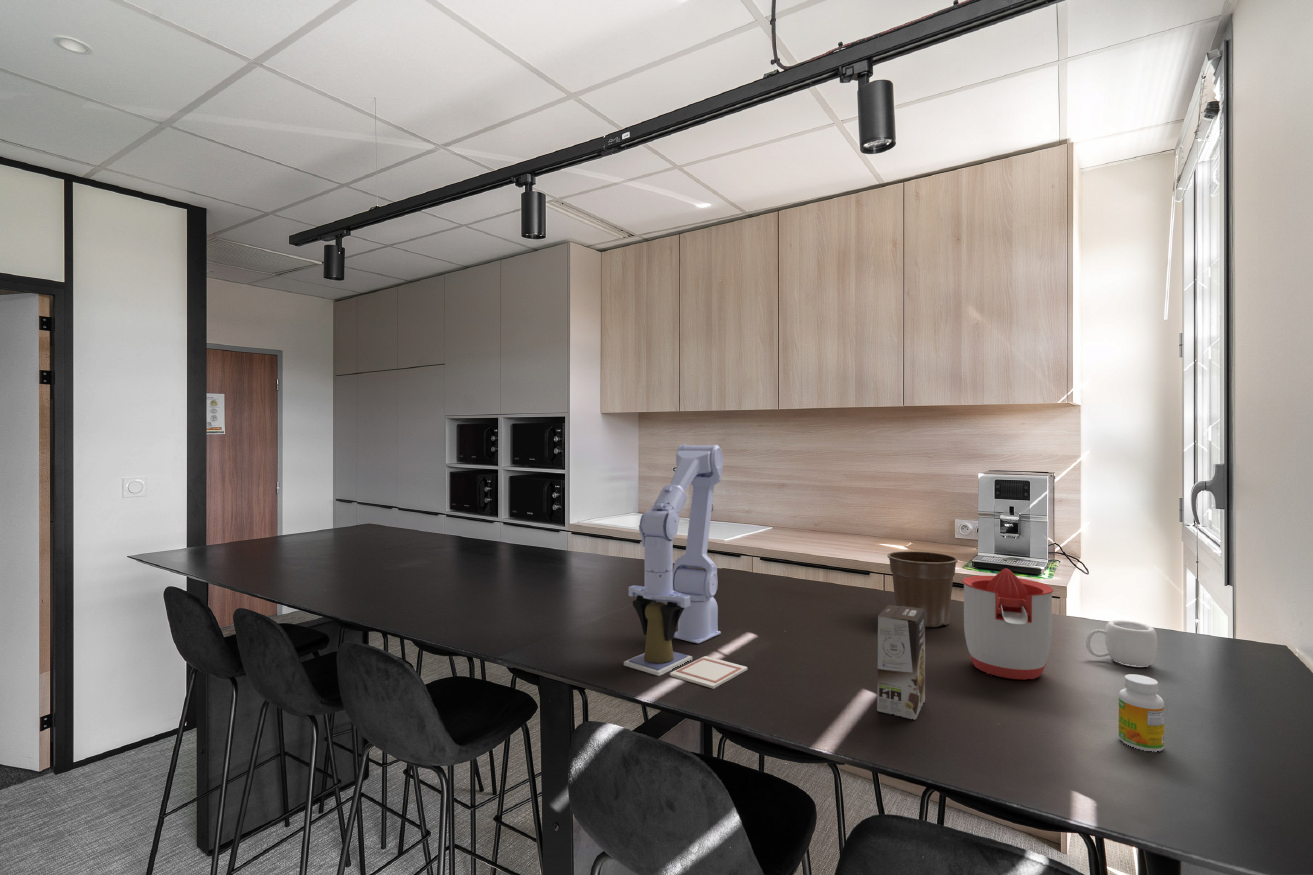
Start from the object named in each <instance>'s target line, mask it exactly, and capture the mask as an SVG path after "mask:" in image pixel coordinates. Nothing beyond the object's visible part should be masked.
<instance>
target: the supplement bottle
mask: <svg viewBox="0 0 1313 875" xmlns="http://www.w3.org/2000/svg"><path fill="white" fill-rule="evenodd" d="M1123 679H1124V682H1123V683H1124V687H1126V688H1123V689H1121V690H1120V691H1119V692H1118V739H1119V738H1120V739H1121V740H1122V741H1123V742H1125V743H1126V744H1127V745H1126V744H1125V745H1126V746H1128V745H1129V746H1128V747H1130V746H1131V747H1130V748H1132V747H1134V748H1133V749H1135V748H1137V749H1136V750H1138V749H1141V750H1140V751H1142V750H1144V751H1143V752H1146V751H1152V752H1151V753H1158V752H1157V751H1159V752H1161V751H1163V750H1164V748H1165V702H1164V700H1163V698H1162V697H1161V696H1160V695H1158V694H1157V693H1159V682H1158V681H1157V680H1156V679H1155V678H1152V677H1149V676H1146V675H1142V674H1134V673H1133V674H1131V673H1130V674H1125V675H1124V678H1123ZM1120 739H1119V740H1120ZM1123 742H1122V743H1123ZM1153 751H1154V752H1153Z"/></svg>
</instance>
